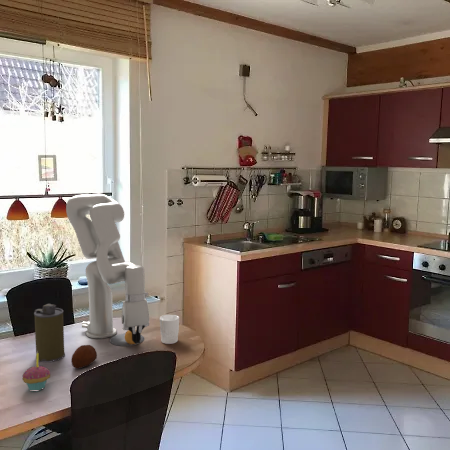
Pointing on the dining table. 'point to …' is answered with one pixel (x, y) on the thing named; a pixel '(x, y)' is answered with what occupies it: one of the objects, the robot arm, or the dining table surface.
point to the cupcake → (36, 376)
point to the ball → (129, 337)
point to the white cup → (169, 328)
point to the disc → (122, 340)
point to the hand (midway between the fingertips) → (136, 342)
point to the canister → (49, 333)
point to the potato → (83, 356)
